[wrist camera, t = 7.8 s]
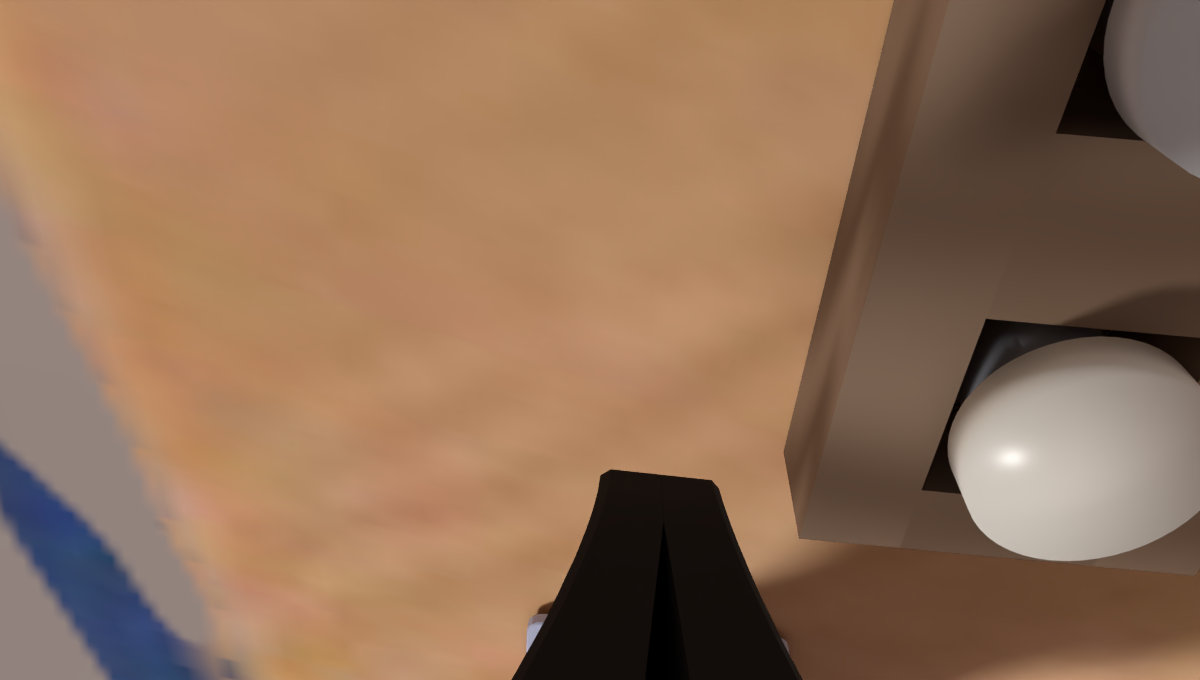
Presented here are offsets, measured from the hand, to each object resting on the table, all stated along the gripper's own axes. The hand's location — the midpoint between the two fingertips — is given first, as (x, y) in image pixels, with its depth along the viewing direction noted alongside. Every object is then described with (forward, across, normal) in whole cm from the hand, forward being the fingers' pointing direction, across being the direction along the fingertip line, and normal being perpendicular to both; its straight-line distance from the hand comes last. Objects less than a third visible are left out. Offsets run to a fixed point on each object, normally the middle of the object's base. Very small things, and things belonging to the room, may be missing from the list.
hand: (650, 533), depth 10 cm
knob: (+9, -8, +2) cm, 13 cm away
